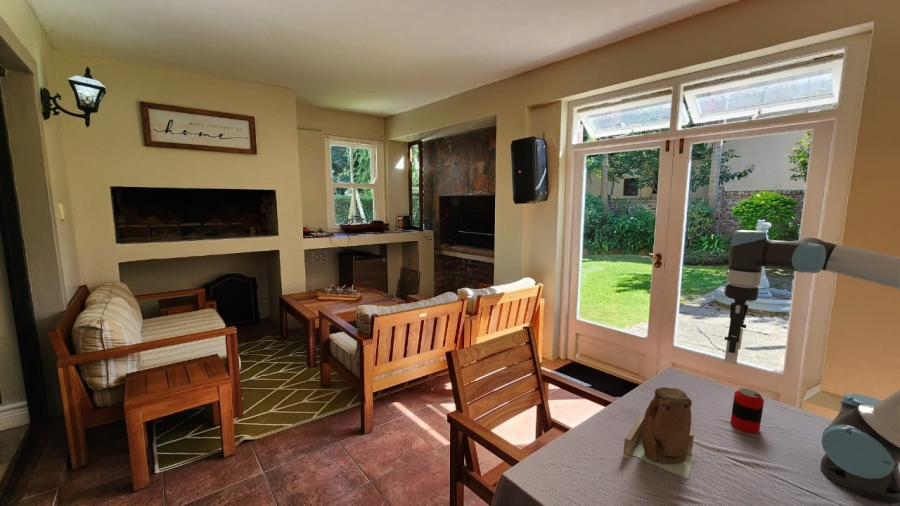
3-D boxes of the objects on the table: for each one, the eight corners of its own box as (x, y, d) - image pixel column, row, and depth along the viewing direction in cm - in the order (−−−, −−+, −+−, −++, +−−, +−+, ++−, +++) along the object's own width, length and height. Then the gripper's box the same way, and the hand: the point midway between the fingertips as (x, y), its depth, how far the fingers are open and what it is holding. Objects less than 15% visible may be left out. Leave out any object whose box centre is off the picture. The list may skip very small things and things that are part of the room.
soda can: (755, 436, 121) (761, 401, 119) (727, 425, 126) (732, 391, 124) (762, 427, 125) (767, 393, 123) (734, 417, 131) (739, 384, 129)
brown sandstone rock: (673, 448, 115) (680, 385, 111) (689, 465, 107) (697, 399, 104) (637, 448, 114) (643, 386, 111) (651, 466, 107) (658, 399, 104)
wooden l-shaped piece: (691, 452, 113) (694, 433, 112) (681, 482, 101) (684, 461, 100) (638, 431, 123) (639, 414, 122) (623, 456, 111) (624, 438, 110)
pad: (694, 457, 111) (694, 456, 111) (687, 478, 103) (687, 478, 103) (642, 437, 120) (642, 436, 120) (631, 455, 112) (632, 454, 111)
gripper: (730, 275, 121) (721, 339, 124) (721, 290, 102) (711, 365, 105) (760, 279, 116) (751, 345, 119) (757, 295, 97) (745, 374, 101)
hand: (732, 355), depth 112 cm, fingers open, 13 cm apart
